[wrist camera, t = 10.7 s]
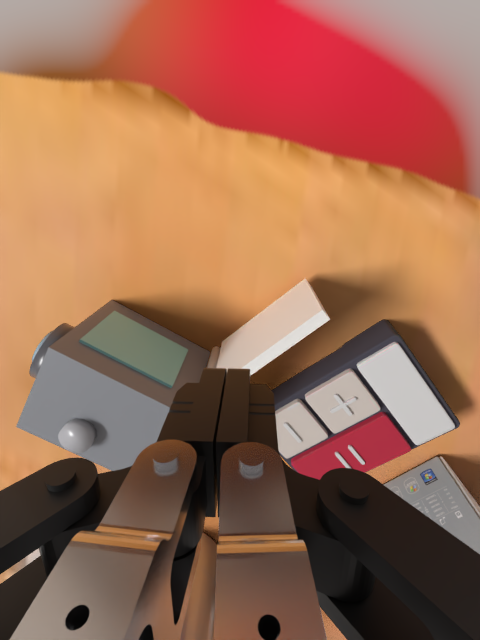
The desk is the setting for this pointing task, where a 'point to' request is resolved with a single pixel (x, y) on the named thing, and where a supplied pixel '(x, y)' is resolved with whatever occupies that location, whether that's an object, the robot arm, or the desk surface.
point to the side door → (273, 330)
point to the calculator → (359, 406)
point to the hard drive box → (441, 499)
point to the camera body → (109, 384)
